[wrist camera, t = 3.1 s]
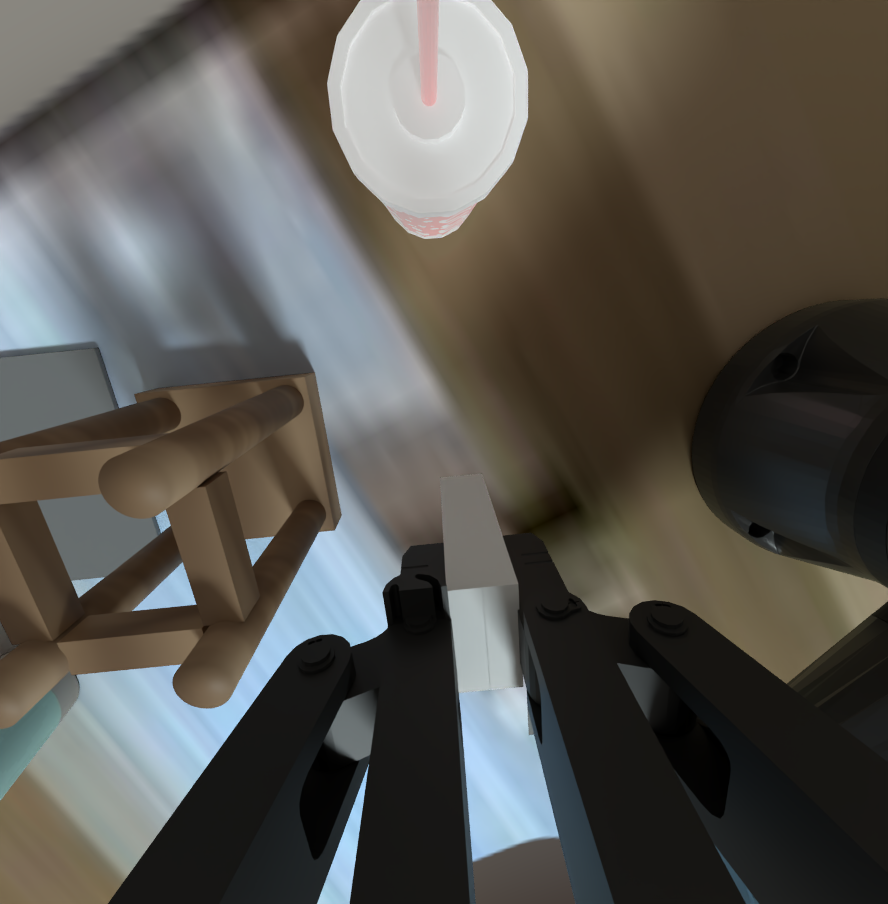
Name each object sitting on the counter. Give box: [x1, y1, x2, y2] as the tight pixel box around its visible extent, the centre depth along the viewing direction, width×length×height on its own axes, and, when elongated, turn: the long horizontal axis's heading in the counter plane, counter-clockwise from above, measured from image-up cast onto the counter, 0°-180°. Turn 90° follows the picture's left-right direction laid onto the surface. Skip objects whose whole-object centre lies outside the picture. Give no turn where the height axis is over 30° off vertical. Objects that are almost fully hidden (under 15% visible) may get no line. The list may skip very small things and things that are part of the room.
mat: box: [0, 348, 161, 580], centre depth 25 cm, size 14×14×1 cm
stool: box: [0, 373, 342, 729], centre depth 19 cm, size 9×9×14 cm
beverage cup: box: [327, 0, 528, 239], centre depth 15 cm, size 6×6×14 cm
